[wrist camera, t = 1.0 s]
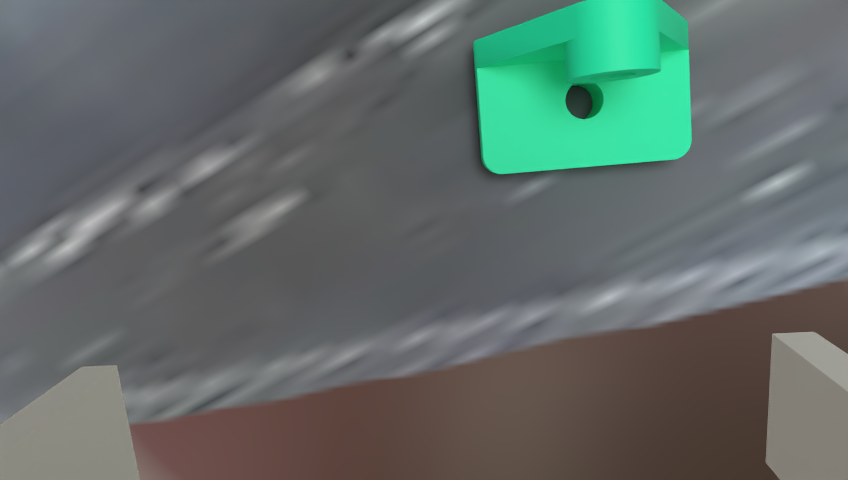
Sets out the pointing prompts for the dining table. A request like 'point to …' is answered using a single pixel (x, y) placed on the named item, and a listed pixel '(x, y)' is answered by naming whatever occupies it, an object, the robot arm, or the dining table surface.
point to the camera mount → (596, 72)
